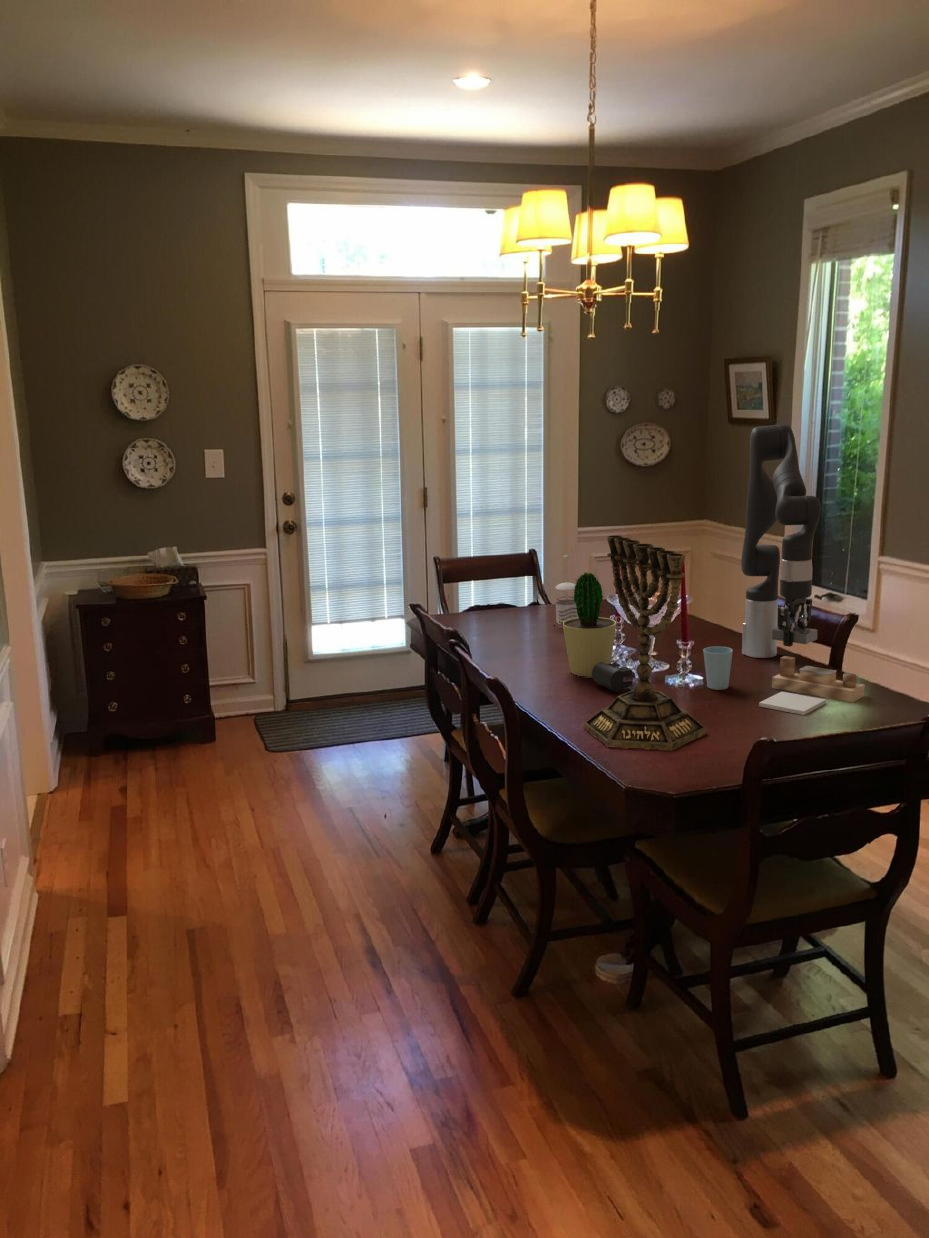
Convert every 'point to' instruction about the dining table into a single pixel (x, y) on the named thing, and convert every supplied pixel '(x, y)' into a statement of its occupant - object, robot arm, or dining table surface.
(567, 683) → the dining table surface
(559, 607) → the french press
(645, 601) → the menorah
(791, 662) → the plane body
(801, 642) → the lever cap
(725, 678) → the cup
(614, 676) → the end cap
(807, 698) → the bench mat
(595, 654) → the potted cactus
